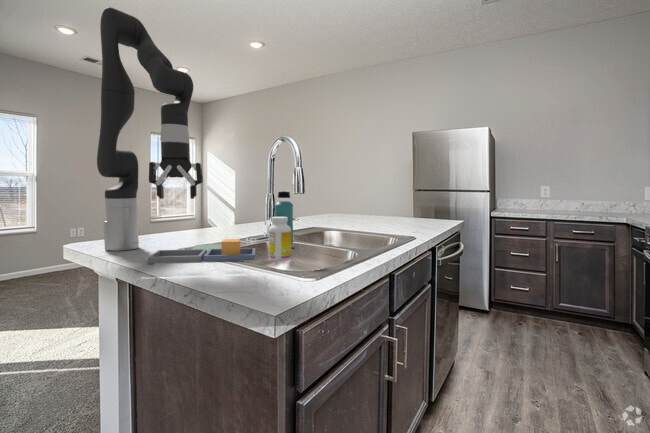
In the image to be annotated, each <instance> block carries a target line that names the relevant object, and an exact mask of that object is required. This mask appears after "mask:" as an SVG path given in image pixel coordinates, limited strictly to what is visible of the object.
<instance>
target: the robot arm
mask: <svg viewBox="0 0 650 433" xmlns="http://www.w3.org/2000/svg"><path fill="white" fill-rule="evenodd" d="M99 25H100V26H99V27H100V45H101V62H102V63H101V64H102V65H101V66H102V67H101V85H100V86H101V87H100V90H101V91H100V130H99V136H98V138H99V139H98V146H97V154H96V166H97V170H98V173H99V174H100V175H101V176H102V177H104V178H118V182H117V183H116V184H115V185H113V186H112V187H109V188H106V189H105V190H104V202H105V204H104V205H105V220H104V221H103V237H104V238H103V239H104V250H105V251H112V252H113V251H116V252H117V251H118V252H119V251H121V252H122V251H130V250H134V249H135V250H136V249H138V248H139V244H140V243H139V224H138V223H139V222H138V221H139V220H138V202H137V201H138V200H137V198H138V197H137V193H138V190H139V160H138V157H137V155H136V153H134V151H132V150H127V149H126V150H125V149H117V144H118V138H119V135H120V133H121V131H122V129H123V128H124V127H125V125H126V124H127V123H128V122H129V120H130V119H131V117H132V116H133V114H134V112H135V100H136V99H135V95H136V92H135V87H134V84H133V82H132V80H131V79H130V78H131V77H130V76H129V74H128V72H127V70H126V69H125V66H124V65H123V63H122V59H121V56H120V49H119V45H122V46H125V47H130V48H133V49H135V50H136V51H137V52H136V56H137V60H138V63H139V64H140V66H141V67H142V68H143V69H144V70H145V71H146V72H147V74H149V75H148V76H149V78H150V81H151V83H152V86H153V88H154V89H155V90H156V91H158V92H159V93H161V94H165V95H169V96H174V97H175V99H174V101H173V102H167V103H163V104H162V105H161V107H160V121H161V122H160V126H161V127H160V139H159V140H160V154H161V157H160V158H161V160H160V162H154V161H150V162H149V163H148V183H149V184H153V185H154V186H156V196H157V197H158V198H159V200H163V199H164V198H165V196H164V190H165V188H164V185H163V184H164V183H165V182H166V180H168V178H184V179H185V180H187V181H188V183H189V184H190V187H189V190H190V191H189V193H190V196H189V197H190V199H191V200H193V199H195V198H196V197H197V195H198V193H197V186H198V185H200V184H203V183H204V179H203V178H204V177H203V168H202V167H203V166H202V163H200V162H196V163H192V162H191V156H190V155H191V154H190V147H191V146H190V132H189V117H188V114H189V113H188V112H189V109H190V105H191V101H192V96H193V93H194V81H193V79H192V77H191V75H190V74H189V73H187V72H184V71H180V70H177V69H174V68H173V64H172V62H171V61H170V59H169V58H167V56H166V55H165V54H164V53H163V52H162V51H161V50H160V49H159V48H158V47H157V46H156V43H155V42H154V40H153V39H152V37H151V36H150V34H149V33H148V30H147V29H146V27H145V25H144V24H143V23H142V21H141V20H140V19H138V18H137V17H136V16H133V15H131V14H128V13H126V12H124V11H122V10H119V9H116V8H114V7H111V6H108V7H105V8H104V9H103V10H102V12H101V16H100V24H99ZM159 168H160V169H161V170H162V173H161V175H159V177H158V179H157V171H158V170H159ZM192 168H193V170H194V171H196V180H195V179H194V178H193V176H192V174H191V173H190V171H191V169H192Z"/></svg>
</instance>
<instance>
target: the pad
mask: <svg viewBox="0 0 650 433" xmlns="http://www.w3.org/2000/svg"><path fill="white" fill-rule="evenodd" d="M192 249H207V252H208V250H209V249H222V243H220V244H217V243H216V244H213V243H212V244H196V245H195V246H193V248H192Z"/></svg>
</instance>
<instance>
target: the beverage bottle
mask: <svg viewBox="0 0 650 433" xmlns="http://www.w3.org/2000/svg"><path fill="white" fill-rule="evenodd" d="M290 193H291V192H290V191H278V193H277V198H278V199H279V198H280V199H291V194H290ZM293 207H294V204H293V203H292V202H291V201H285V200H284V201H282V200H281V201H276V203H274V216H273V217H288V221H287V225H288V226H290V228H291V247H292V246H293V245H294V225H293V224H294V222H293V221H294V208H293Z"/></svg>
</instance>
